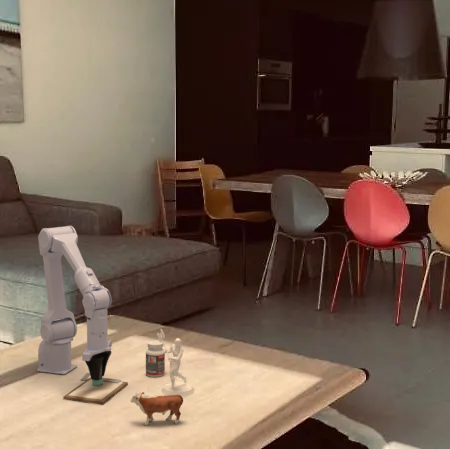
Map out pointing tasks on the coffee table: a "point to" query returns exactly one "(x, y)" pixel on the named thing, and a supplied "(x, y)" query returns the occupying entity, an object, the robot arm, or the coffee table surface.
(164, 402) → the bull figurine
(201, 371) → the coffee table surface
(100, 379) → the marker
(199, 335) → the coffee table surface
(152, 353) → the pill bottle
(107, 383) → the brown picture frame
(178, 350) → the figurine
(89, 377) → the grey slotted plate
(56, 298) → the robot arm
